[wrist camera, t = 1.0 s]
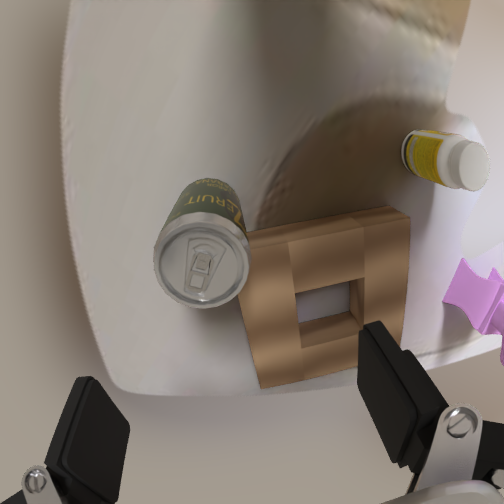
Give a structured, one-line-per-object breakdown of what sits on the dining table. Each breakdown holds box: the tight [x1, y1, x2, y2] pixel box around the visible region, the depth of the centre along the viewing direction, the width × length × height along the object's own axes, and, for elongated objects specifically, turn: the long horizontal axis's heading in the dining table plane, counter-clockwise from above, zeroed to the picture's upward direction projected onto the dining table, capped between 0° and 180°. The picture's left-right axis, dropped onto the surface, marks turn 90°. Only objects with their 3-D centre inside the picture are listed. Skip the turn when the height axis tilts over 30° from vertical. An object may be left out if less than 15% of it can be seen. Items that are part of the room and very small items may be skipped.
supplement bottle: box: [401, 129, 490, 191], centre depth 22 cm, size 5×5×8 cm
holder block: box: [238, 206, 410, 389], centre depth 29 cm, size 16×16×4 cm
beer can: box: [153, 178, 252, 309], centre depth 21 cm, size 5×5×12 cm
